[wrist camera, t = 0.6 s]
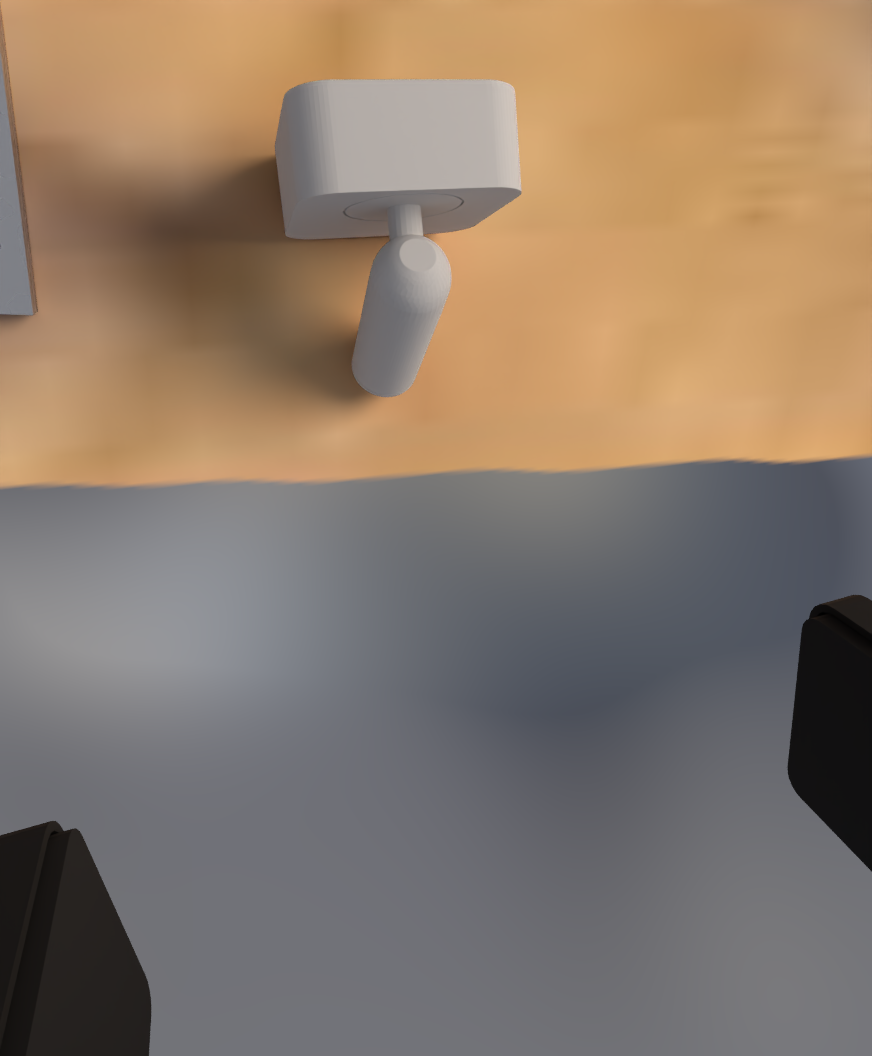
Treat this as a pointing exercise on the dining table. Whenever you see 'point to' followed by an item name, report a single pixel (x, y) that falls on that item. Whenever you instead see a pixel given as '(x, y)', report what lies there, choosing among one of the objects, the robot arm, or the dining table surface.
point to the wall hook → (396, 193)
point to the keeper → (12, 210)
